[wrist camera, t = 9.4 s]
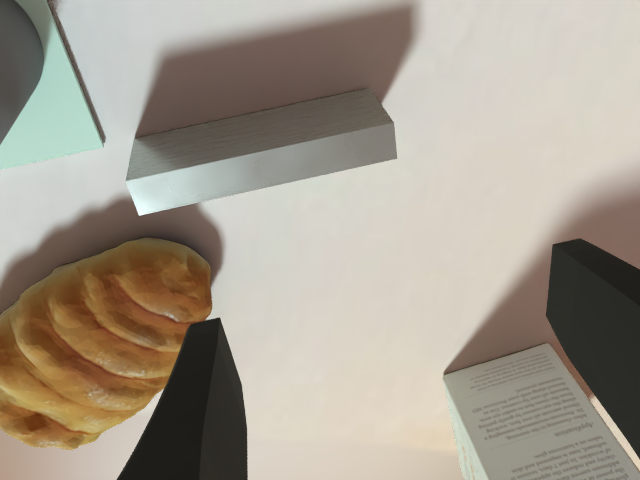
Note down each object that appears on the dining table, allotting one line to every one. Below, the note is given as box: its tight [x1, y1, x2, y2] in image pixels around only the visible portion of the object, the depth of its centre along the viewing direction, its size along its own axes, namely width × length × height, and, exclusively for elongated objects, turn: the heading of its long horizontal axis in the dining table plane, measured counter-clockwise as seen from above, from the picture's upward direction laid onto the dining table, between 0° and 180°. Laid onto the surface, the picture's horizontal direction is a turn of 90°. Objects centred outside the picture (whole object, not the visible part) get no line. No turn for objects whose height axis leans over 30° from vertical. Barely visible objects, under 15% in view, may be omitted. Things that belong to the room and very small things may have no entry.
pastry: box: [0, 237, 212, 450], centre depth 22 cm, size 9×7×4 cm
